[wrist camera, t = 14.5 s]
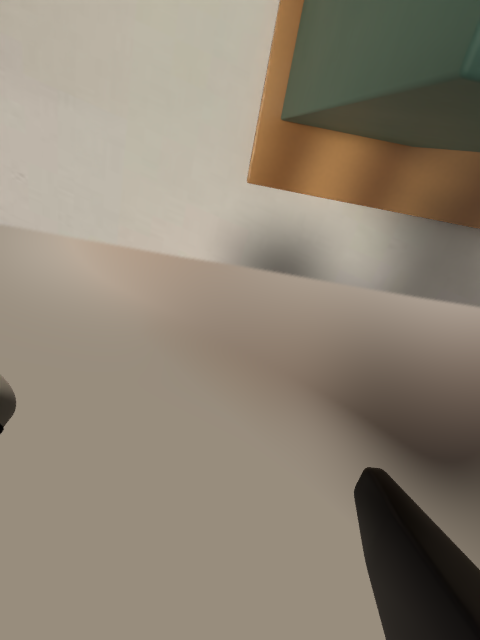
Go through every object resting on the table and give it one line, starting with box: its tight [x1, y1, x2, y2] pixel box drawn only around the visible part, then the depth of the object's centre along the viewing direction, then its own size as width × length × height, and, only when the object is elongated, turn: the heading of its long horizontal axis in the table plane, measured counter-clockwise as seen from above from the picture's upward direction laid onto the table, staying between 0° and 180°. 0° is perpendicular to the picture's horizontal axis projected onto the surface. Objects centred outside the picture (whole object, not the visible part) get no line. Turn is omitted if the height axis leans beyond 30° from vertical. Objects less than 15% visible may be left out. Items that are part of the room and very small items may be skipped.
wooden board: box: [247, 0, 480, 229], centre depth 16 cm, size 14×10×1 cm
